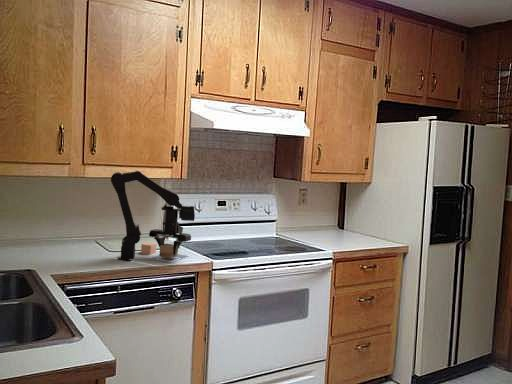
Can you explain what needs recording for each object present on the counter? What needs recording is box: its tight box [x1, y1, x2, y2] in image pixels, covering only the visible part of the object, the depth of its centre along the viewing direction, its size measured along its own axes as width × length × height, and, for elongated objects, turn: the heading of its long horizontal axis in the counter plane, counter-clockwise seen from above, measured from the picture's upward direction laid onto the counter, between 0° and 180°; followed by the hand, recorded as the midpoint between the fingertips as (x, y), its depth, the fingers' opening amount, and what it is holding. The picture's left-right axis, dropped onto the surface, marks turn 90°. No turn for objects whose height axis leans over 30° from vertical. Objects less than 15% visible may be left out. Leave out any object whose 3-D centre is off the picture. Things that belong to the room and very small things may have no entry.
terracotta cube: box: [140, 242, 157, 256], centre depth 231 cm, size 5×5×5 cm
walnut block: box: [158, 243, 179, 258], centre depth 223 cm, size 6×6×5 cm
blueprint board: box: [146, 253, 190, 264], centre depth 225 cm, size 18×12×1 cm, turn 161°
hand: (168, 254), depth 223 cm, fingers closed on walnut block, 6 cm apart
